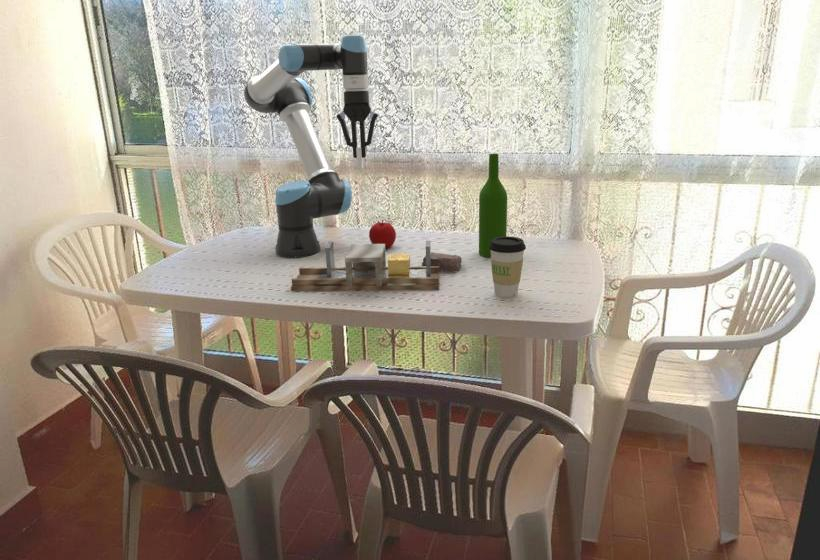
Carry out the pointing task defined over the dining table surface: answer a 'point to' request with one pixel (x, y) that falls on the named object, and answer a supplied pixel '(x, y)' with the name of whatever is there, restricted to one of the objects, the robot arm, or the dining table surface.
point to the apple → (382, 234)
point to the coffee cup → (506, 264)
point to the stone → (444, 262)
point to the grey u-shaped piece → (396, 269)
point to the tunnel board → (363, 260)
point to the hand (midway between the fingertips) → (360, 168)
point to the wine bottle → (492, 208)
